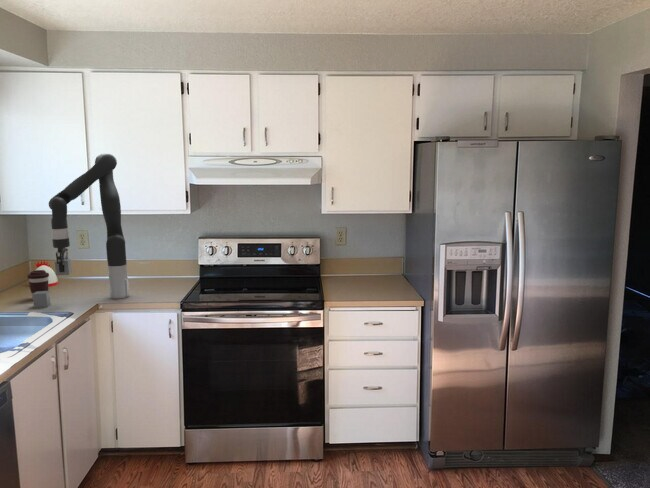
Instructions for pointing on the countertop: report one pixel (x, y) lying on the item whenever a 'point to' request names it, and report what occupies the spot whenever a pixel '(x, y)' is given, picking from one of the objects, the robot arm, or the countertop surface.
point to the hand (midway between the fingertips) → (63, 270)
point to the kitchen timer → (52, 276)
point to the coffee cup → (38, 281)
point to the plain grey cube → (41, 299)
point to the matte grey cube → (66, 267)
